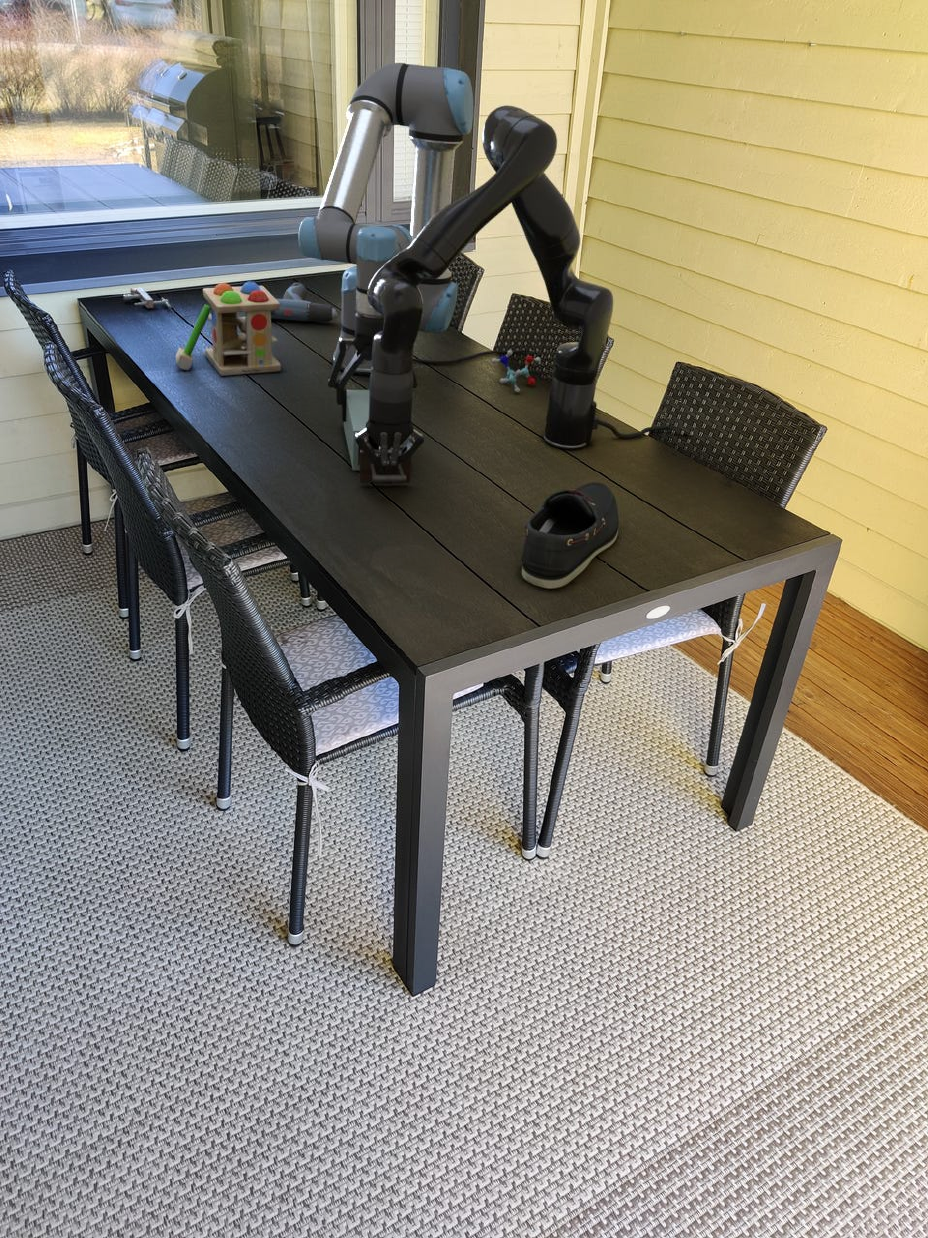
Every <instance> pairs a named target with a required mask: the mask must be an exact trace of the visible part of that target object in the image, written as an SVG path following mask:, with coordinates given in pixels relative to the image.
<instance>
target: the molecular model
mask: <svg viewBox="0 0 928 1238" xmlns="http://www.w3.org/2000/svg"><path fill="white" fill-rule="evenodd" d="M508 350H509V351H508V352H507V353H506V354H505V355H502V356H501V357H500V358H495V357H493V358H492V359H491V362H492V364H497V363H499V362H500V363H501V364H504V365H505V368H506V370H507V372H506V375H507V376H506V377H504V378H500V379H499V383H500V384H501V385H505V384H507V383H509V384H511V385H513V387H514V392H515V393H517V394H518V393H520V392H521V388H520V387H518V385H517V383H516V382H517V378H518V376H524V377H525V378H526V381H528V385H529V386H532V387H533V386H535V385H536V380H535V379H534V378H532V376H531V375H530V374H529V369H528V367H529V365H530V363H532V362H536V363H540V362H541V357H536V358H535V357H532V356H531V355H527V356H526V357H525V361H526V363H525V367H523V368H522V369H517V370H516V371H514V370H513V369H511V368H510V366H509V364H508V361H509V360H508V358H509V357H510V356H512V355H513V354H514V353H513V352H512V351H511V350H512V349H508Z"/></svg>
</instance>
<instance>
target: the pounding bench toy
mask: <svg viewBox="0 0 928 1238" xmlns="http://www.w3.org/2000/svg"><path fill="white" fill-rule="evenodd" d="M202 296H203V298H204V299H205V300H206V301H207V302H208V304H209V305H208V304H204V305H203V307H202V309H201V312H200V313H199V316H198V318H197V320H196V322H195V324H194V327H193V329H192V331H191V332H190V333H191V334H190V336H189V338H188V340H187V343H186V344H185V347H184V348H182V347H180V346H179V347H178V349H177V351H176V354H175V357H174V358H175V362H176V365H177V366H178V368H179V369H182V370H185V371H189V370H190V369H191V367H192V365H193V363H194V356H193V351H194V348H195V347H196V345H197V342H198V340H199V337H200V336H201V333H202V332H203V329H204V326H205V325H206V322H207V320H209V321H210V322H211V336H212V337H211V338H212V339H211V340H212V348H205V349H204V352H205V353H204V355H205V357H206V359H208V361H209V363H210V364H211V365H212V366H213V367H214V369H215V370H216V371H217V372H218V374H219V375H220V376H222V377H223V376H234V375H235V376H236V375H246V374H247V375H250V374H262V373H275V372H281V370H282V364H281V363H280V362H279V360H278V359H277V358H276V357H275V356H274V355H273V348H272V347H273V345H272V344H276V343H278V342H279V341H278V339H277V338H276V337H275V336H274V334H272V318H271V310H280V303H279V302H278V301H277V300H276V299H277V298H276V297H274V296H273V295H272V294H271V293H270V292H269V290H268V289H267V288H266V287H264V285H259V284H257V283H256V282H255V281H247V282H245V283H244V284H243V285H242V286H232V285H230V284H229V283H226V282H221V283H218V284H217V285H216V286H215V287H204V288H203V289H202ZM238 313H244V314H245V315H244V316H238ZM238 329H239V331H240V333H239V334H238Z"/></svg>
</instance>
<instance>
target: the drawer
mask: <svg viewBox="0 0 928 1238" xmlns="http://www.w3.org/2000/svg"><path fill="white" fill-rule="evenodd" d="M368 439H369V441H368V443H369V444H370V445H371V446H372V448H373V449H374V450H375V451H376V453H379V454H380V452H379V446H378V445H377V444H376V443H375V442H374V441H373V439H372V438H371V437H370V435H368ZM403 447H404V445H403V444H402V445H401V446H400V448H399V452H400V451H401V450H402V449H403ZM387 449H388V461H389V452H390V447H387ZM359 457H360V466H359V470H358V471H359V472H358V481H359V484H385V483H384V482H392V483H391V484H404V483H405V484H410V483H411V469H412V468H411V465H412V456H411V457H410V458H409V459H408V460H407V461H406V462H404V463H403V462H400V463H398V464H397V465H396V475H379V474H380V464H379V463H377V462H376V463H374V462H372V461H371V460H370V458H369V457H368V456H367V455H366V454H365V452H364V451H363V450H362V449H361V448H360V446H359Z"/></svg>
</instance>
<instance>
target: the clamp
mask: <svg viewBox="0 0 928 1238" xmlns="http://www.w3.org/2000/svg"><path fill="white" fill-rule="evenodd" d="M129 289H130V293H129V294H128V293H127V294H122V295H123V297H122V298H123V300H124V301H128V300H129V301H130V300H133V299H135V300H136V299H138V300H140V302H135V303H134V306H144V307H146V308H147V309H154V305H162V306H167V308H168V309H172V308H173V305H172V304H170V302H169V299H168V298H167V299H165V297H160V300H153V298H152V297H151V296H150V295H149V294H148V293H147V292H146V291H145V290H144V289H143V288H142V287H136V288H135V287H131V288H129Z"/></svg>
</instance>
